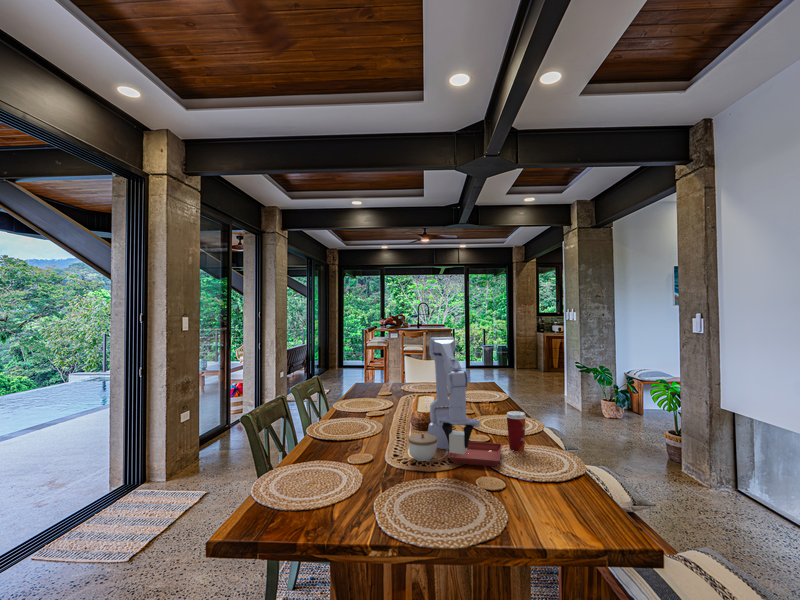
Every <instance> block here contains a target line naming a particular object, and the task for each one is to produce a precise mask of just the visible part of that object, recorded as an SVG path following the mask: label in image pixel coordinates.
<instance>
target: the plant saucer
mask: <svg viewBox="0 0 800 600" xmlns="http://www.w3.org/2000/svg"><path fill="white" fill-rule="evenodd" d="M502 447H503V444H502V443H498V442H497V443H495V442H483V441H481V442H480V441H469V443H468V447H467V451H466V452H465V454H457V453H448V458H449V459H450V460H451V462H452V463H453V464H459V463H465V464H464V465H471V466H472V465H473V466H481V467H482V466H483V467H496V466H497V465H498V464H499V462H500V461H501V460H500V459H501V455H502V454H501V453H502ZM489 450H492V452H488V451H489ZM468 453H469V454H468Z"/></svg>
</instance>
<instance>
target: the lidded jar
mask: <svg viewBox="0 0 800 600" xmlns="http://www.w3.org/2000/svg"><path fill="white" fill-rule="evenodd" d="M407 441H408V449H409V453H410V454H411V457H413V459H414V460H415V461H416V460H417V462H419V461H427V462H429V461H432V459H433V457H435V455H436V453H437V449H438V448H437V437H436V436H434V435H431V434H428V433H424V432H421V433H415V434H411V435H410V436H409V437H408V440H407Z"/></svg>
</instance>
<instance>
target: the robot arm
mask: <svg viewBox="0 0 800 600" xmlns="http://www.w3.org/2000/svg"><path fill="white" fill-rule="evenodd" d="M428 348H429V349H428V352H429V357H430V358H431V359H433V361H434V368H435V370H434V371H435V390H436V391H435V393H436V398H435V399H434V400H433V401H432V402H431V403H430V406H429V408H430V409H429V419H430V423H429V424H428V428H427V434H431V435H434V436H436V437H437V449H441V450H449V434H450V433H451V432H452V431H453V425H455V426H464V427H463V432H464V435H465V448H467V447H468V443H469V442H470V437H471V435H472V432H473V430H474V427H475V428H479V427H480V426H481V425H480V420H479V419H473V418H468V417H467V401H466V400H467V397H466V396H467V395H466V394H467V392H466V389H467V387H468V384H469V383H468V374H467V371H466V370H464V369H462V367H461V364H460V362H459V359H458V358H456V357H455V356H454V353H455V350H456V339H455V338H454V336H445V337H444V336H443V337H441V336H439V337H430V338H429V341H428Z"/></svg>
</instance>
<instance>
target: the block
mask: <svg viewBox="0 0 800 600" xmlns="http://www.w3.org/2000/svg"><path fill="white" fill-rule="evenodd" d="M466 451H467V448H465V435H464V431H460V430H452V432H451V433H450V434H449V453H457V454H465V452H466ZM449 453H448V454H449Z"/></svg>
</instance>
